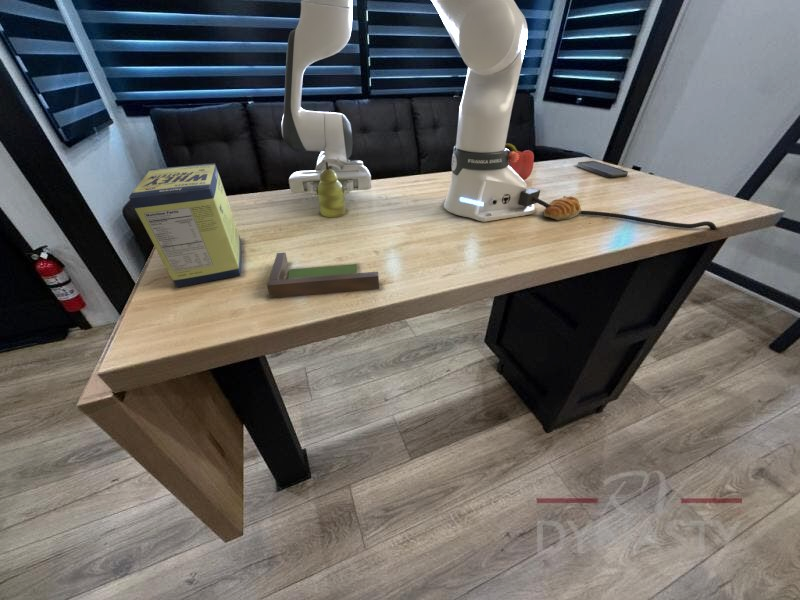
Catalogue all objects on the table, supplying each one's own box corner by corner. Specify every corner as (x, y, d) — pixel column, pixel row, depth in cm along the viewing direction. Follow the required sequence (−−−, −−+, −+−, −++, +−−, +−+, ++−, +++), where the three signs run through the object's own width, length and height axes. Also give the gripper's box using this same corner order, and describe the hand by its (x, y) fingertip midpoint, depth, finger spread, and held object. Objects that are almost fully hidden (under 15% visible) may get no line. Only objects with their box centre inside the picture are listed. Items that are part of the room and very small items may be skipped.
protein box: (241, 239, 68) (215, 161, 58) (242, 276, 56) (210, 187, 47) (186, 248, 64) (149, 167, 55) (175, 289, 53) (126, 196, 44)
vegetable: (487, 179, 100) (493, 145, 94) (506, 173, 106) (512, 140, 100) (518, 188, 94) (526, 151, 88) (536, 180, 99) (545, 145, 93)
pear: (345, 206, 82) (340, 157, 75) (346, 216, 77) (340, 164, 70) (321, 208, 81) (313, 158, 74) (319, 217, 77) (311, 165, 69)
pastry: (561, 224, 73) (566, 208, 71) (535, 215, 77) (539, 200, 75) (581, 214, 78) (586, 199, 76) (555, 206, 82) (560, 192, 80)
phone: (610, 174, 100) (576, 162, 112) (609, 178, 101) (575, 165, 113) (630, 172, 102) (594, 160, 114) (628, 175, 103) (593, 163, 114)
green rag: (356, 264, 59) (356, 264, 59) (357, 284, 54) (357, 284, 54) (289, 270, 58) (289, 269, 58) (284, 291, 53) (284, 290, 53)
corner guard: (373, 257, 61) (373, 246, 60) (379, 288, 53) (378, 276, 52) (280, 264, 59) (276, 252, 58) (270, 298, 51) (266, 285, 50)
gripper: (289, 163, 83) (282, 179, 72) (368, 160, 85) (372, 175, 75) (294, 188, 87) (288, 206, 76) (369, 184, 89) (373, 202, 78)
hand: (330, 191), depth 75 cm, fingers closed on pear, 6 cm apart
